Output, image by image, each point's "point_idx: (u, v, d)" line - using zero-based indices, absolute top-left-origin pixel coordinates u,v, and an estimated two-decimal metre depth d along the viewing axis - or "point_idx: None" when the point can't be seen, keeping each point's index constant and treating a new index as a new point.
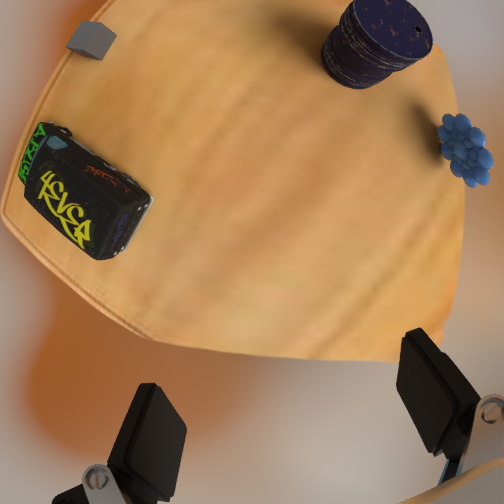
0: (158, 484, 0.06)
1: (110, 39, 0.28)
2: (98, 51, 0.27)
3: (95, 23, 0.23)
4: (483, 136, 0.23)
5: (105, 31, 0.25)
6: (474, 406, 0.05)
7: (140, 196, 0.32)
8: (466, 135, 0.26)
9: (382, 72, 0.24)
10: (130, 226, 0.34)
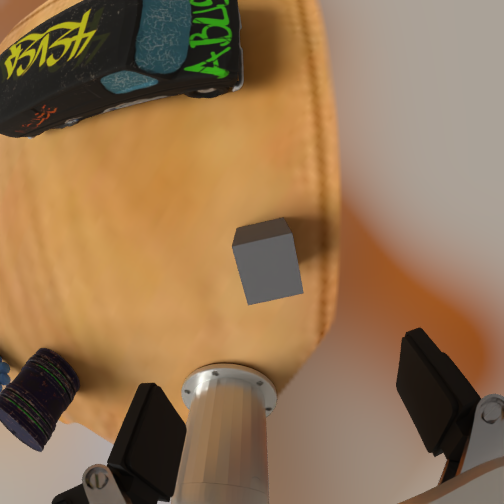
0: (158, 484, 0.06)
1: None
2: None
3: (259, 299, 0.21)
4: None
5: None
6: (474, 406, 0.05)
7: (17, 136, 0.17)
8: None
9: None
10: None
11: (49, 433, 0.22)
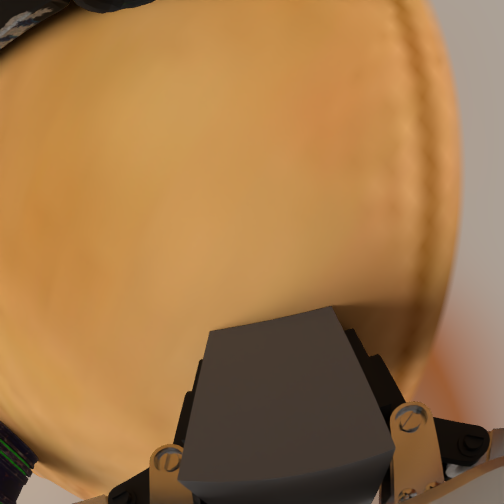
0: None
1: None
2: None
3: None
4: None
5: None
6: None
7: None
8: None
9: None
10: None
11: None
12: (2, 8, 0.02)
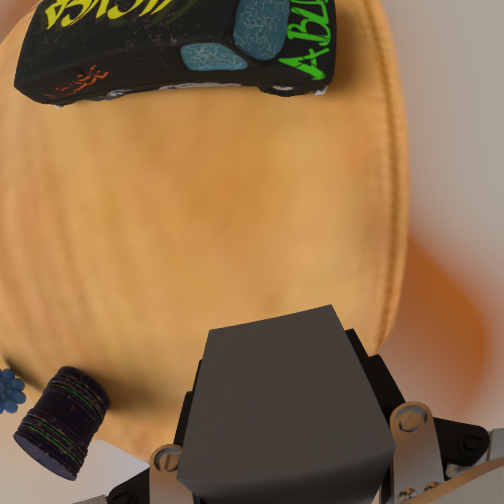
0: None
1: None
2: None
3: None
4: None
5: None
6: None
7: (44, 102, 0.15)
8: (1, 401, 0.24)
9: (34, 407, 0.22)
10: None
11: (82, 461, 0.20)
12: (236, 80, 0.16)
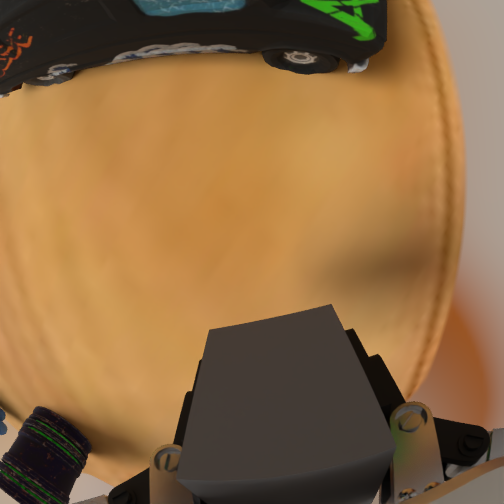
0: None
1: None
2: None
3: None
4: None
5: None
6: None
7: None
8: None
9: (10, 449, 0.14)
10: None
11: None
12: (226, 37, 0.09)
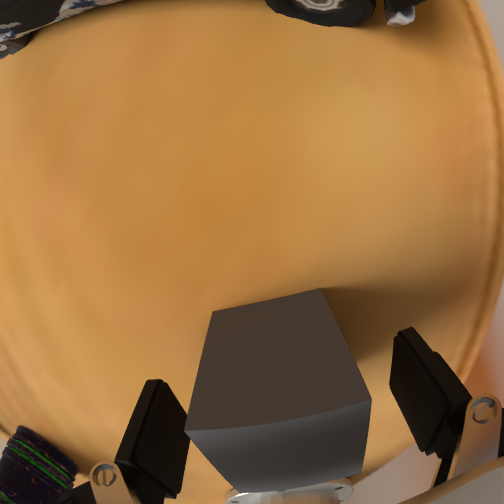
0: (165, 480, 0.06)
1: None
2: None
3: (263, 489, 0.07)
4: None
5: None
6: (465, 405, 0.05)
7: None
8: None
9: None
10: None
11: None
12: None
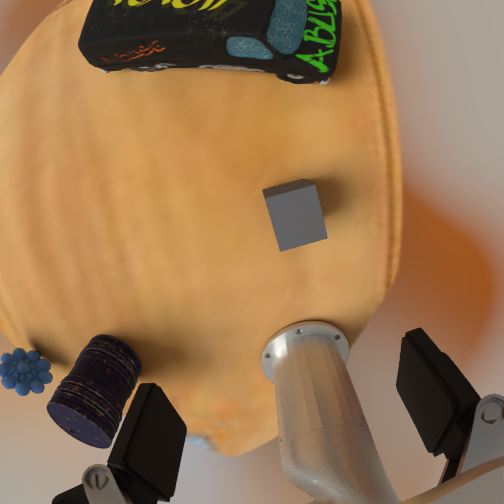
0: (158, 484, 0.06)
1: None
2: None
3: (289, 245, 0.24)
4: (19, 394, 0.28)
5: None
6: (474, 406, 0.05)
7: (97, 65, 0.19)
8: (27, 382, 0.30)
9: None
10: None
11: (117, 425, 0.26)
12: (261, 67, 0.21)
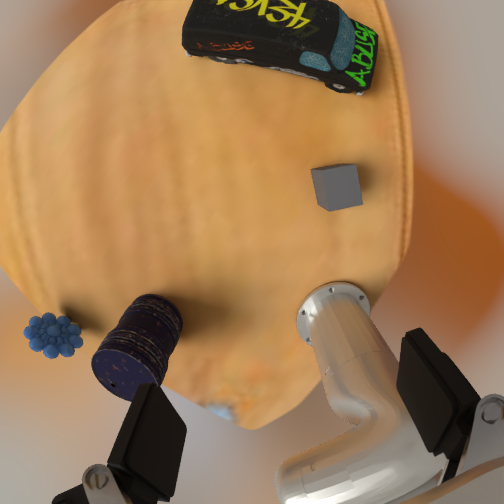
0: (158, 484, 0.06)
1: (317, 196, 0.36)
2: (315, 177, 0.34)
3: (336, 207, 0.31)
4: (47, 356, 0.34)
5: (323, 203, 0.33)
6: (474, 406, 0.05)
7: (188, 48, 0.26)
8: (57, 344, 0.36)
9: None
10: None
11: (164, 376, 0.32)
12: (318, 76, 0.28)
